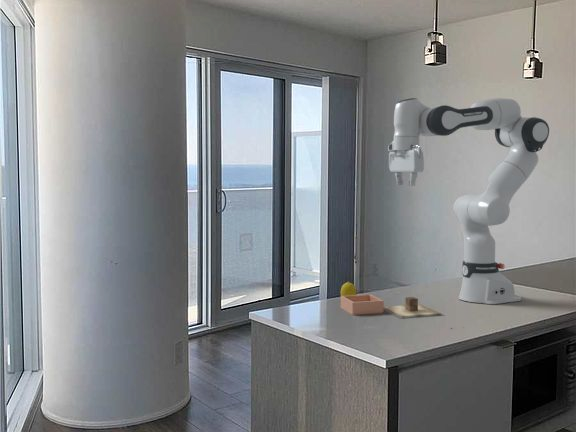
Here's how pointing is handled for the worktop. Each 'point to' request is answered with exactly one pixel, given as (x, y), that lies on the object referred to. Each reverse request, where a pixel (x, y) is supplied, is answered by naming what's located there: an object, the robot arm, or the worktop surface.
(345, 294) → the lemon
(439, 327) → the worktop surface
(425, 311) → the lid
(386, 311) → the mat
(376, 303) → the salmon open box
